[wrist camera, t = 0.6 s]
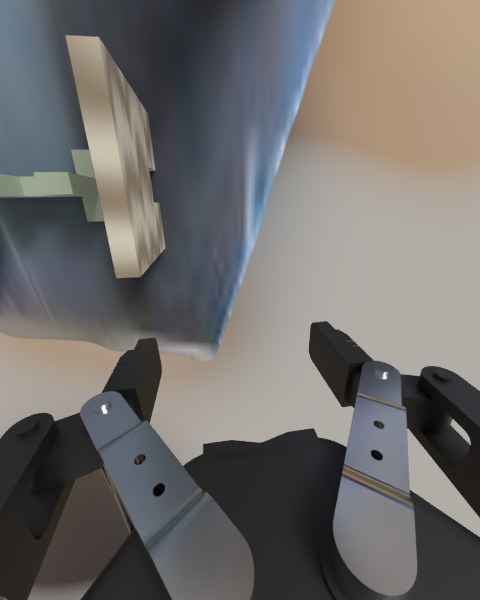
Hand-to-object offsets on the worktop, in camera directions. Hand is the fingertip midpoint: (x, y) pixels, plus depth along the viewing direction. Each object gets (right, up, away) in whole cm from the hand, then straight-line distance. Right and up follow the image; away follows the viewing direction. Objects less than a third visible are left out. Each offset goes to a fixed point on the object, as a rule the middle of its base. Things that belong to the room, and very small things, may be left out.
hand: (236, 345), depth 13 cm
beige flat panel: (-12, +17, +20) cm, 29 cm away
